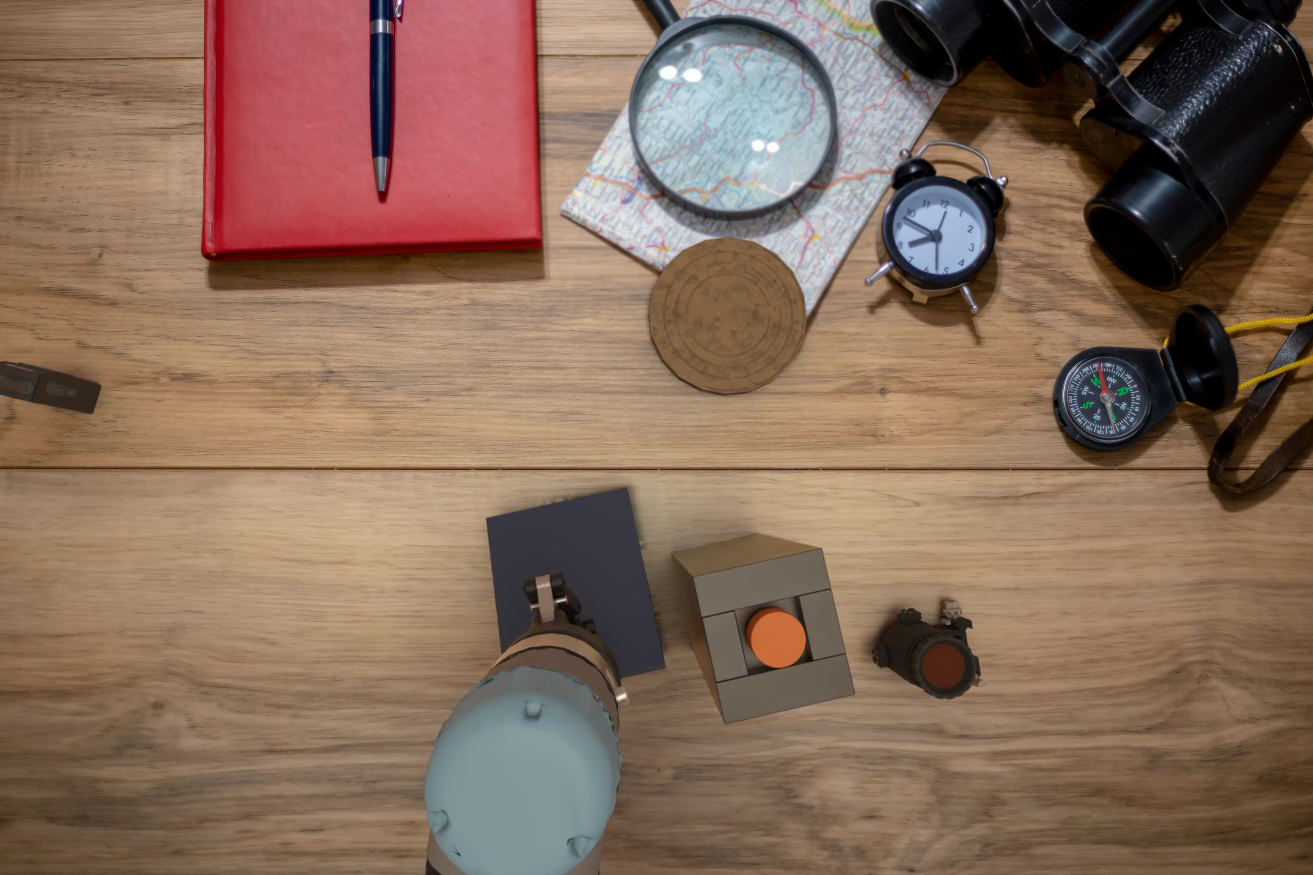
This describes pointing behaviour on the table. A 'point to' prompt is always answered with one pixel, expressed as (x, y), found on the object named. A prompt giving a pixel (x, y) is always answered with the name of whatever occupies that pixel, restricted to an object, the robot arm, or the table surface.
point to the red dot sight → (931, 652)
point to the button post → (731, 592)
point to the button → (776, 637)
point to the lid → (579, 572)
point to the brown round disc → (727, 316)
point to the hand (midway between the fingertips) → (578, 634)
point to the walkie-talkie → (48, 387)
